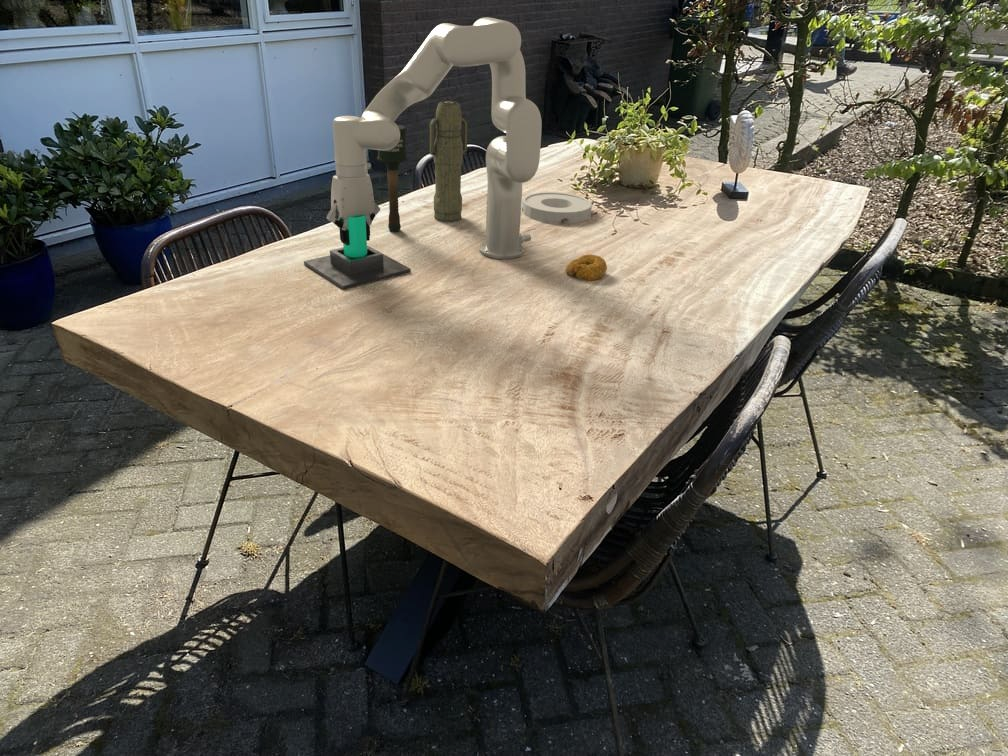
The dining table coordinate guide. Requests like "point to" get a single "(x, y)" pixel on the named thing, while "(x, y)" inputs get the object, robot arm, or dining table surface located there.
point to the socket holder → (356, 268)
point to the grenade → (394, 176)
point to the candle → (356, 237)
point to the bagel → (587, 267)
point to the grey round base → (556, 207)
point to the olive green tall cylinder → (448, 160)
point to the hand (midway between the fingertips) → (355, 240)
